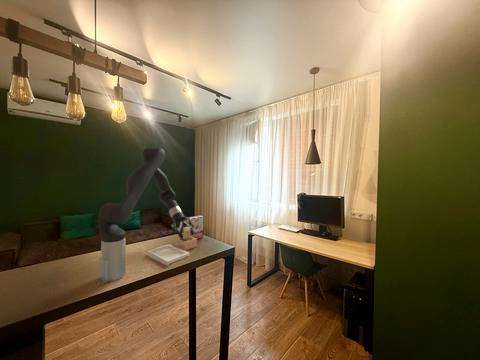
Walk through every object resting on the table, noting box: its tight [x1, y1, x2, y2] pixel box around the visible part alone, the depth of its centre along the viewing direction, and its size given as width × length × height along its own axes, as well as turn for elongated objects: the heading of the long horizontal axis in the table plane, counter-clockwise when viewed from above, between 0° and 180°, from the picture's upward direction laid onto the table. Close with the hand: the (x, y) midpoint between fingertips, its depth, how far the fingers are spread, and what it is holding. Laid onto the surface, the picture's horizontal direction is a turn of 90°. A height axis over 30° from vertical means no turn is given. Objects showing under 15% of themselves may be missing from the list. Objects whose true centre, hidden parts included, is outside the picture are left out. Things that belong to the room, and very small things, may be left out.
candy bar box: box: [186, 215, 204, 240], centre depth 139 cm, size 11×5×16 cm, turn 132°
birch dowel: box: [182, 227, 190, 241], centre depth 123 cm, size 4×4×12 cm
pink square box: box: [174, 236, 198, 252], centre depth 123 cm, size 9×9×6 cm
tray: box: [146, 244, 191, 267], centre depth 111 cm, size 14×20×2 cm
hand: (187, 235), depth 122 cm, fingers open, 8 cm apart
